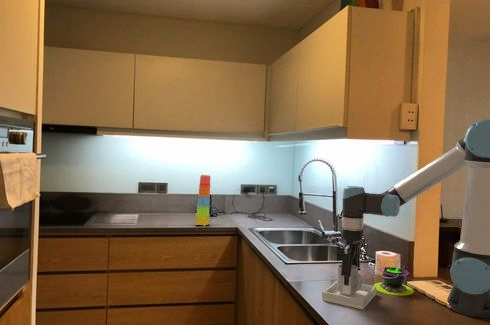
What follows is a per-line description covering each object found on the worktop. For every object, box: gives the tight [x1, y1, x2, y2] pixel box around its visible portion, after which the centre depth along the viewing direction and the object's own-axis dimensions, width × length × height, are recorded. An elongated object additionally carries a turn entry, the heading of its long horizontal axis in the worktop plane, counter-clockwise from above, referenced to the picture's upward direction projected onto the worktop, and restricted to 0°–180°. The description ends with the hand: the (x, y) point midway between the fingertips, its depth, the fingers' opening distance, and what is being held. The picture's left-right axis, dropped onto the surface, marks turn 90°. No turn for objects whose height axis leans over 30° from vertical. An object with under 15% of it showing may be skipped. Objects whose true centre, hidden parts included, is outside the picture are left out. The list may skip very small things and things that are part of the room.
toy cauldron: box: [373, 261, 415, 297], centre depth 162 cm, size 15×15×11 cm
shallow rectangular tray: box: [321, 280, 377, 310], centre depth 151 cm, size 15×18×3 cm
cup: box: [336, 263, 363, 294], centre depth 150 cm, size 7×10×9 cm
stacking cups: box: [195, 174, 211, 225], centre depth 281 cm, size 10×10×35 cm
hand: (350, 290), depth 151 cm, fingers closed on cup, 7 cm apart
